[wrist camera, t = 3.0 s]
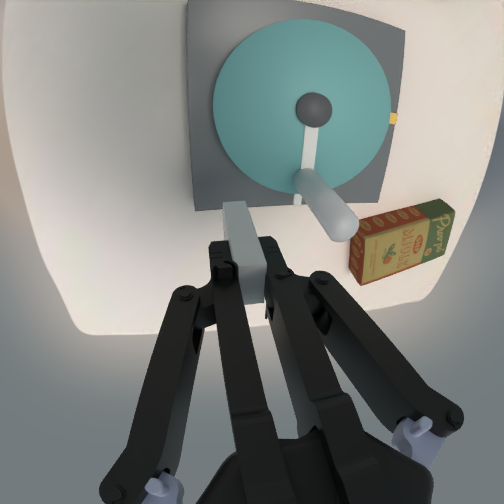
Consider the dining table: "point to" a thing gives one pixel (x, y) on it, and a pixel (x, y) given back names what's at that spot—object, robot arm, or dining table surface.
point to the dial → (303, 113)
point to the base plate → (207, 70)
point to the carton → (399, 240)
